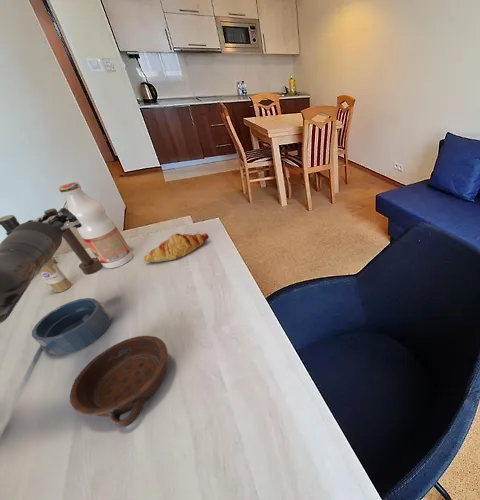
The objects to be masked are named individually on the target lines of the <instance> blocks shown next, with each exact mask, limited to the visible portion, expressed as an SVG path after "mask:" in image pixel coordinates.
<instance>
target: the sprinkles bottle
mask: <svg viewBox="0 0 480 500" xmlns="http://www.w3.org/2000/svg"><path fill="white" fill-rule="evenodd" d="M38 275H40V276H41V278H42V279H43V280H44V281H45V282H46V284H48V285H49V286H50V287H51V289H52V290H53V291H54V293H62V292H64V291H67V290H69V289H70V288H71V287H72V285H73V284H72V282H71V281H70V280H69V279H68V278H67V276H66V275H65V273H64V272H62V270H61V268H60V267H58V265H57V263H56V264H55V263H54V262H53V261H52V260H51V259H50V261H49V262H48V263H47V264H46V265H44V266H43V268H42V269H41V271H40V272H39V273H38Z"/></svg>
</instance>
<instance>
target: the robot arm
mask: <svg viewBox="0 0 480 500" xmlns="http://www.w3.org/2000/svg"><path fill="white" fill-rule="evenodd" d="M57 212H58V213H57V214H56V215H55V216H50V217H49V218H48V217H47V216H46V214H45V213H44V214H43V215H42V216H39V217H38V218H36V219H29V220H28V221H26V222H23V223H19V224H20V225H19V226H17V227H16V228H14V229H13V230H11V231H9V232H6V233H5V234H6V237H5V238H4V239H2V241H1V242H0V324H2V323H4V322H5V321H6V320H7V319H8V318H9V317H10V315H11V314H12V313H13V311H14V309H15V308H16V306H17V304H18V303H19V302H20V300H21V299H22V298H23V295H25V292H26V291H27V289H28V288H29V287H30V284H31V283H32V281H34V280H35V278H37V276H38V275H39V272H40V271H41V269H42V268H43V266H44V265H46V264H47V263H48V262H49V261H50V259H51V258H52V256H53V257H54V255H55V254H56V253H57V251H58V250H59V248H60V247H61V245H62V242H63V237H62V234H63V233H65V232H66V231H67V228H70V229H71V228H76V229H77V228H80V227H81V226H82V225H81V223H80V222H79V221H78V219H77V218H76V216H74V215H73V214H72V213H71V212H69V210H68V209H67V208H66V207H62V208H60V209H59V210H58V211H57Z"/></svg>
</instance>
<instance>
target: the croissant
mask: <svg viewBox="0 0 480 500" xmlns="http://www.w3.org/2000/svg"><path fill="white" fill-rule="evenodd" d="M208 239H209V234H208V233H207V232H206V233H202V234H200V233H195V234H190V233H187V234H186V233H184V234H182V233H178V232H177V233H174V234H172V235H171V236H169V237H168V239H167V240H164V241H162V242H160V243H159V244H158V246H157V247H155V248H153V249H151V250H150V251H149V252H148V254H146V255H145V256H143V260H144V262H147V263H159V262H167V261H174V260H177V259H179V258H181V257H184V256H187V255H188V254H190V253H192V252H193V251H194V250H196V249H197V248H199V247H201V246H202V245H203V244H205V243H206V241H207V240H208Z"/></svg>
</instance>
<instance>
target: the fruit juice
mask: <svg viewBox="0 0 480 500" xmlns="http://www.w3.org/2000/svg"><path fill="white" fill-rule="evenodd" d="M58 191H59V192H60V194H62V195H63V196H64V198H65V200H66V205H67V208H66V209H68V210H69V212H71V213H72V214H73V215H74V216H76V218H77V219H78V221H79V222H80V223H81V225H82V226H81V227H80V228H76V230H77V232H78V235H80V237H81V239H82V240H83V241H84V242H85V244H86V246H87V247H88V248H89V249H90V251H91V252H92V254H93V255H94V256H95V258H98V259H99V261H100V262H101V263H102V265H103V268H105V269H114V268H118V267H121V266H123V265H125V264H127V263H128V262H130V261H131V260H132V258H133V257H134V254H133V251H132V249H131V248H130V246H129V244H128V243H127V241H126V240H125V239H124V236H123V235H122V233H121V232H120V231H119V229H118V227H117V226H116V224H115V222H114V221H113V219H112V218H111V217H110V216H108V215H107V214H106V209H105V207H104V206H103V205H102V203H100V202H99V201H97V200H95V199H93V197H92V198H91V196H89V195H88V194H87V193H86V192H84V191H83V189H82V186H81V185H80V183H79V182H76V181H75V182H69V183H66V184H63V185H60V187H58Z"/></svg>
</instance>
